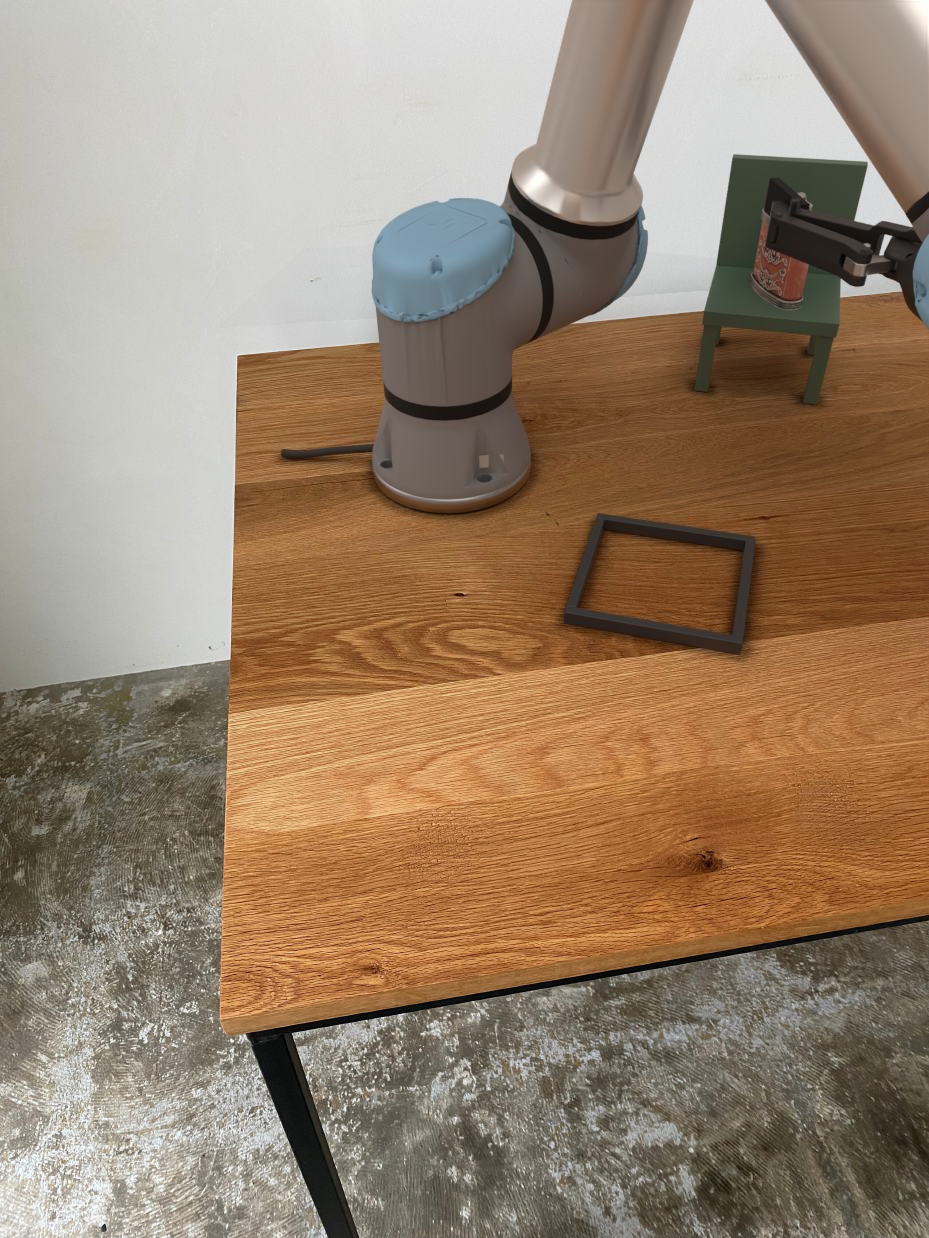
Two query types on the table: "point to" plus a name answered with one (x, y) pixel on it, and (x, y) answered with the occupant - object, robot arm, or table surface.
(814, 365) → the chair
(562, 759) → the table surface
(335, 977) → the table surface
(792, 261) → the lighter
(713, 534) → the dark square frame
